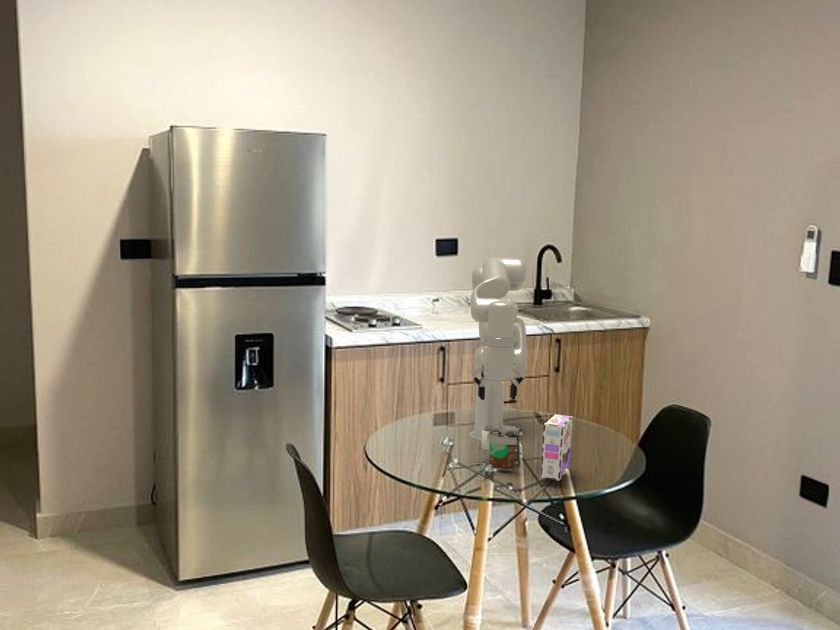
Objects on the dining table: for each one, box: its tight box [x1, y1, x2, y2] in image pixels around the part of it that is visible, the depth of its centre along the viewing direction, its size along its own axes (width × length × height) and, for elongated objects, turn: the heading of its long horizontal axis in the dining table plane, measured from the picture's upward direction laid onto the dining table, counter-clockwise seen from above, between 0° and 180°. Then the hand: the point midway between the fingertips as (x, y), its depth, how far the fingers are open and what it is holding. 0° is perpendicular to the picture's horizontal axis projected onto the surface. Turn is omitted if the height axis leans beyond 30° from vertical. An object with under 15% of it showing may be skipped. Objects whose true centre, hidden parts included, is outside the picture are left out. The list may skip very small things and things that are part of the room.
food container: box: [487, 428, 518, 470], centre depth 259 cm, size 12×6×10 cm, turn 23°
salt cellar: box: [480, 426, 493, 451], centre depth 278 cm, size 4×4×7 cm
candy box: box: [540, 414, 574, 482], centre depth 253 cm, size 14×6×16 cm, turn 157°
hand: (497, 398), depth 258 cm, fingers open, 9 cm apart
